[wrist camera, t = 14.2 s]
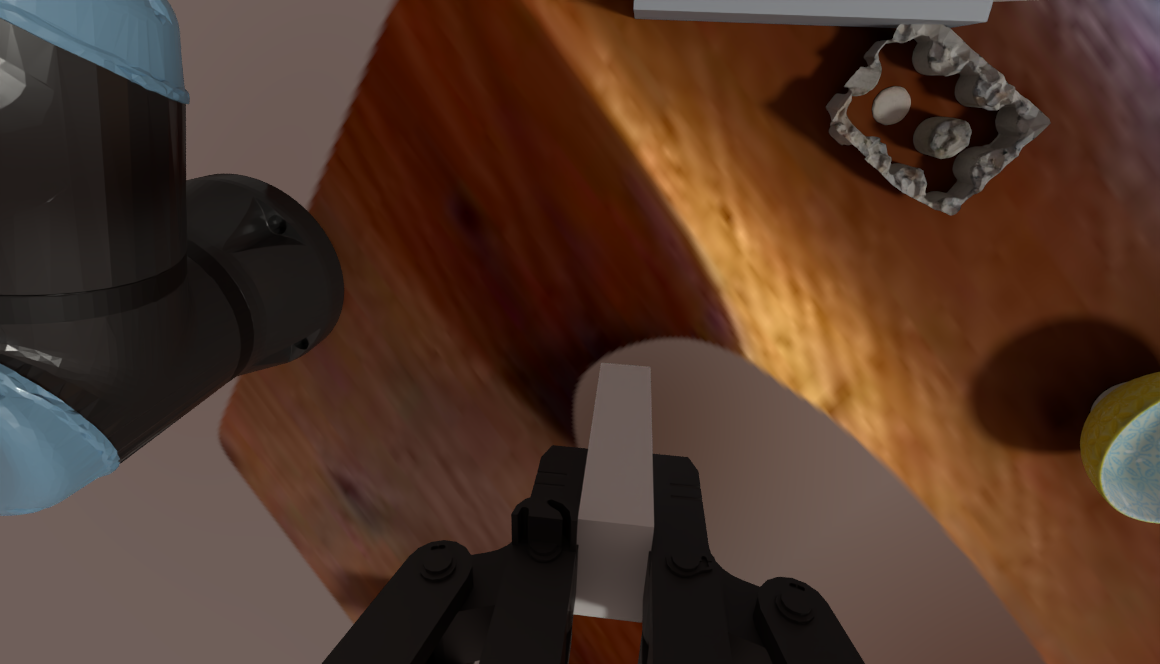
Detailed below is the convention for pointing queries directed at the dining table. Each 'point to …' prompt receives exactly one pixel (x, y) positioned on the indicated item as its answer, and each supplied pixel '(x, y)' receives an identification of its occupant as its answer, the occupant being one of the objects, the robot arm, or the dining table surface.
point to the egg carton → (940, 134)
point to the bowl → (1126, 447)
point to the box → (820, 11)
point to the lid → (1007, 0)
